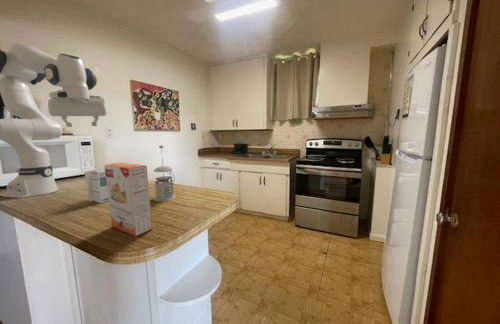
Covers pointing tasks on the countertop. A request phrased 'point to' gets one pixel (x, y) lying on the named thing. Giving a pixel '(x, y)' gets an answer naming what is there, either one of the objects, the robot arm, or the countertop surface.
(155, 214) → the countertop surface
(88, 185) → the white topped bridge
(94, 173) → the syrup box
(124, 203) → the cracker box
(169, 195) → the french press
